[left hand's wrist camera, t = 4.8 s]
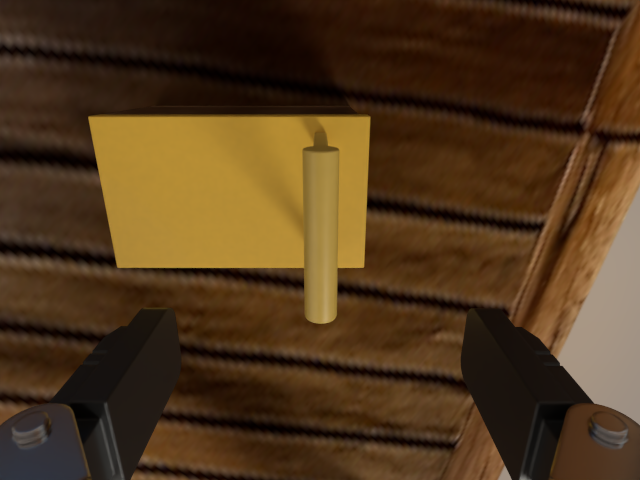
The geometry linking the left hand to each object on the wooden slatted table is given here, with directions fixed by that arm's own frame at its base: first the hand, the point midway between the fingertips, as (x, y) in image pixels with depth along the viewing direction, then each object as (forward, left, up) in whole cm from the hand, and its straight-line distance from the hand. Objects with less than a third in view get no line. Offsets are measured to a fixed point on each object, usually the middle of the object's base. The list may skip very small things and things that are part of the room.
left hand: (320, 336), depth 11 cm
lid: (-1, +5, -16) cm, 16 cm away
